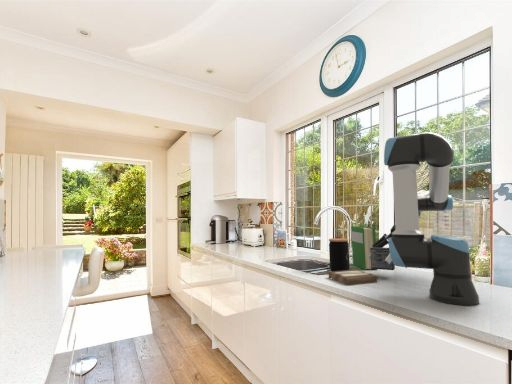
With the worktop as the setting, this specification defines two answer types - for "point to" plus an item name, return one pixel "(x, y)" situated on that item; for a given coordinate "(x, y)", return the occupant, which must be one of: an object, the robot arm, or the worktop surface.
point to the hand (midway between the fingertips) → (378, 260)
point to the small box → (380, 259)
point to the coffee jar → (339, 254)
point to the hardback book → (362, 245)
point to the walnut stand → (352, 277)
